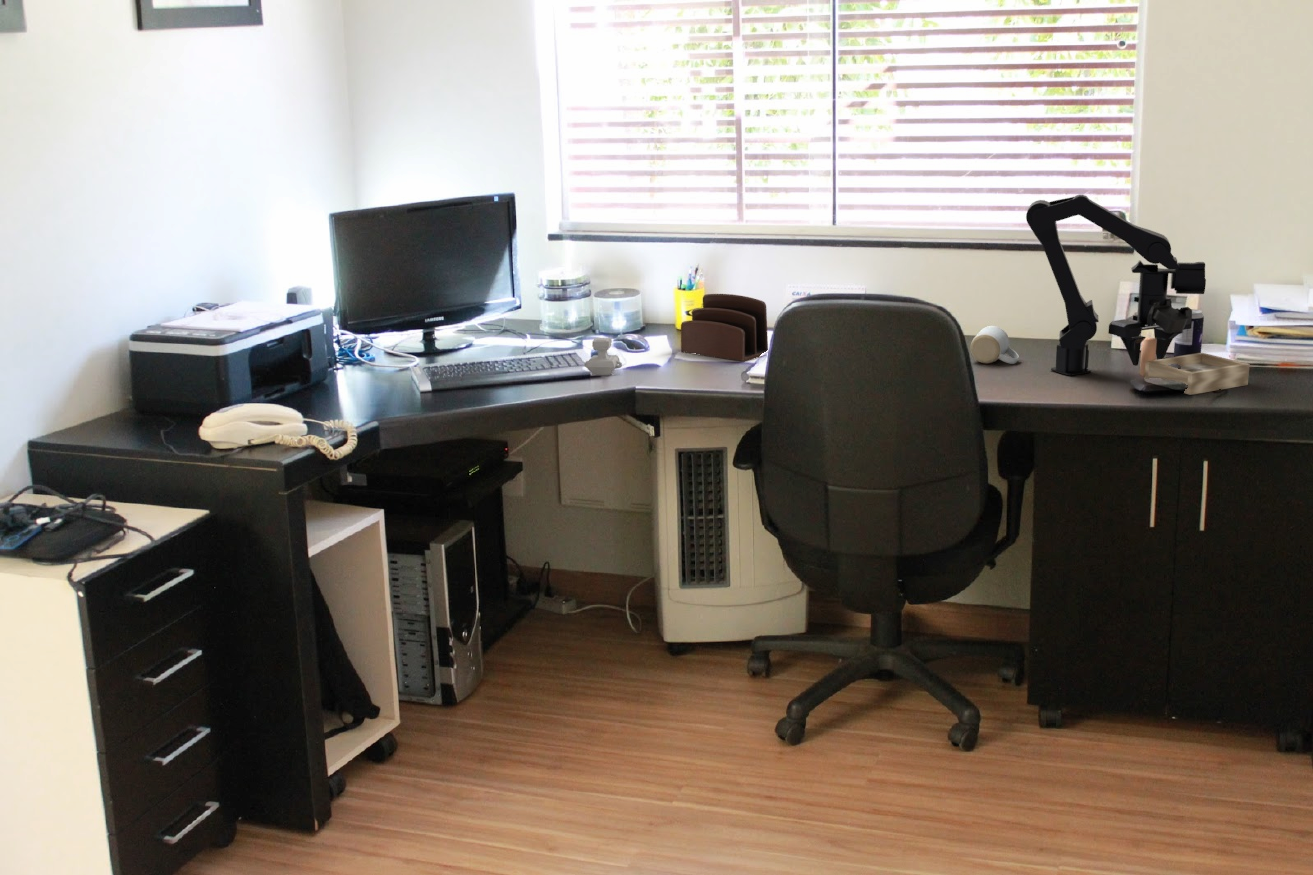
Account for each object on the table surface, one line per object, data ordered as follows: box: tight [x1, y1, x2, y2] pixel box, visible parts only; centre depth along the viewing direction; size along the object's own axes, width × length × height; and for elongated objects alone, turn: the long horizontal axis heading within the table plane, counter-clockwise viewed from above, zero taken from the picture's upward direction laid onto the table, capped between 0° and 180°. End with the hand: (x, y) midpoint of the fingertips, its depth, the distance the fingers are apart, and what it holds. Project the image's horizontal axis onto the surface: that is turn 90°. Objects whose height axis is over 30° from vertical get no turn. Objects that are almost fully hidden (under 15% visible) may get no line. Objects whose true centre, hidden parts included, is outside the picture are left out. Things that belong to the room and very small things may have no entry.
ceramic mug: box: [970, 325, 1020, 365], centre depth 305 cm, size 11×8×8 cm
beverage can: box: [1173, 308, 1205, 357], centre depth 297 cm, size 6×6×12 cm
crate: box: [1144, 352, 1251, 396], centre depth 281 cm, size 16×13×4 cm
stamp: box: [583, 337, 623, 376], centre depth 306 cm, size 9×7×8 cm
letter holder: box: [680, 293, 769, 363], centre depth 322 cm, size 10×20×14 cm, turn 49°
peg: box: [1139, 337, 1157, 377], centre depth 289 cm, size 3×3×8 cm
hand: (1147, 363), depth 289 cm, fingers open, 7 cm apart
